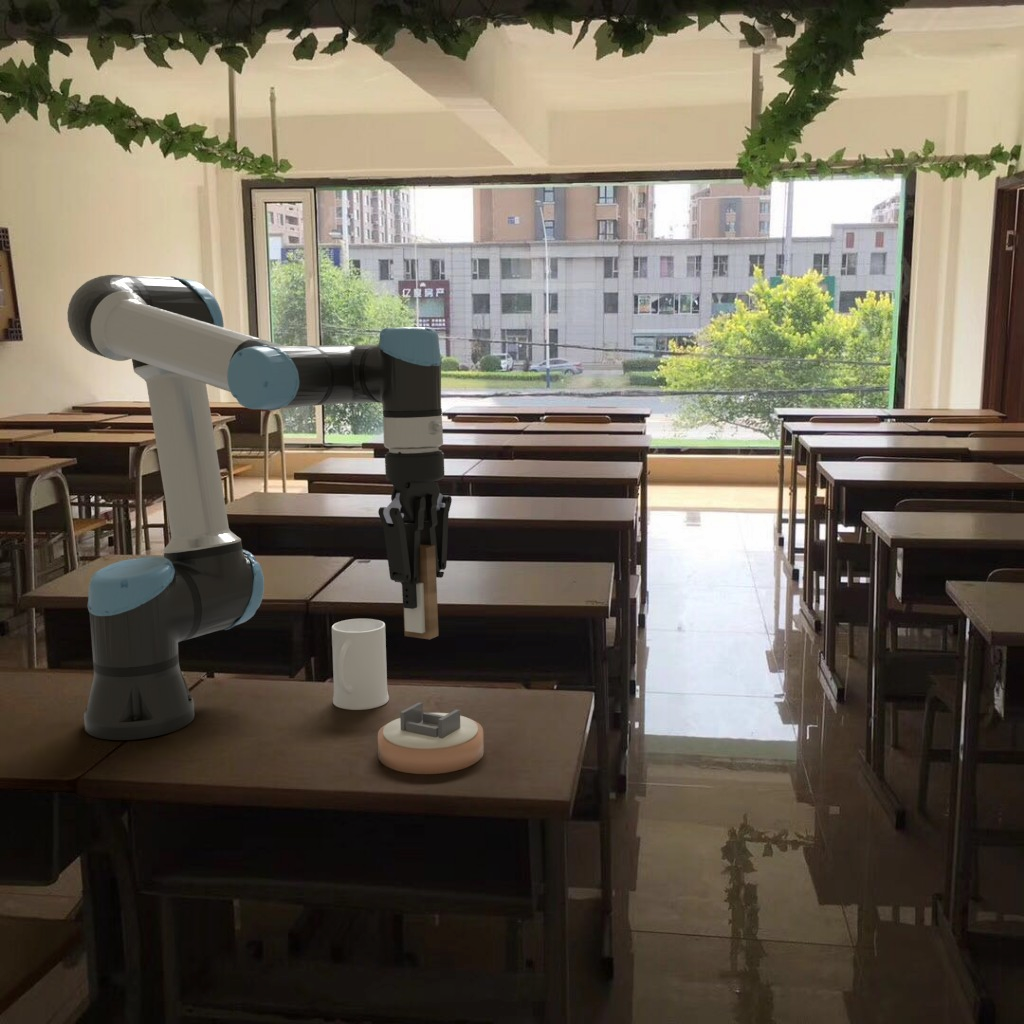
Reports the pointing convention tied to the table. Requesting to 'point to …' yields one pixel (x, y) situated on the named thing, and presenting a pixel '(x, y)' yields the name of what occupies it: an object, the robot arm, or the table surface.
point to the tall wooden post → (428, 592)
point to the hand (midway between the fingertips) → (421, 628)
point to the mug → (359, 664)
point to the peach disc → (430, 742)
